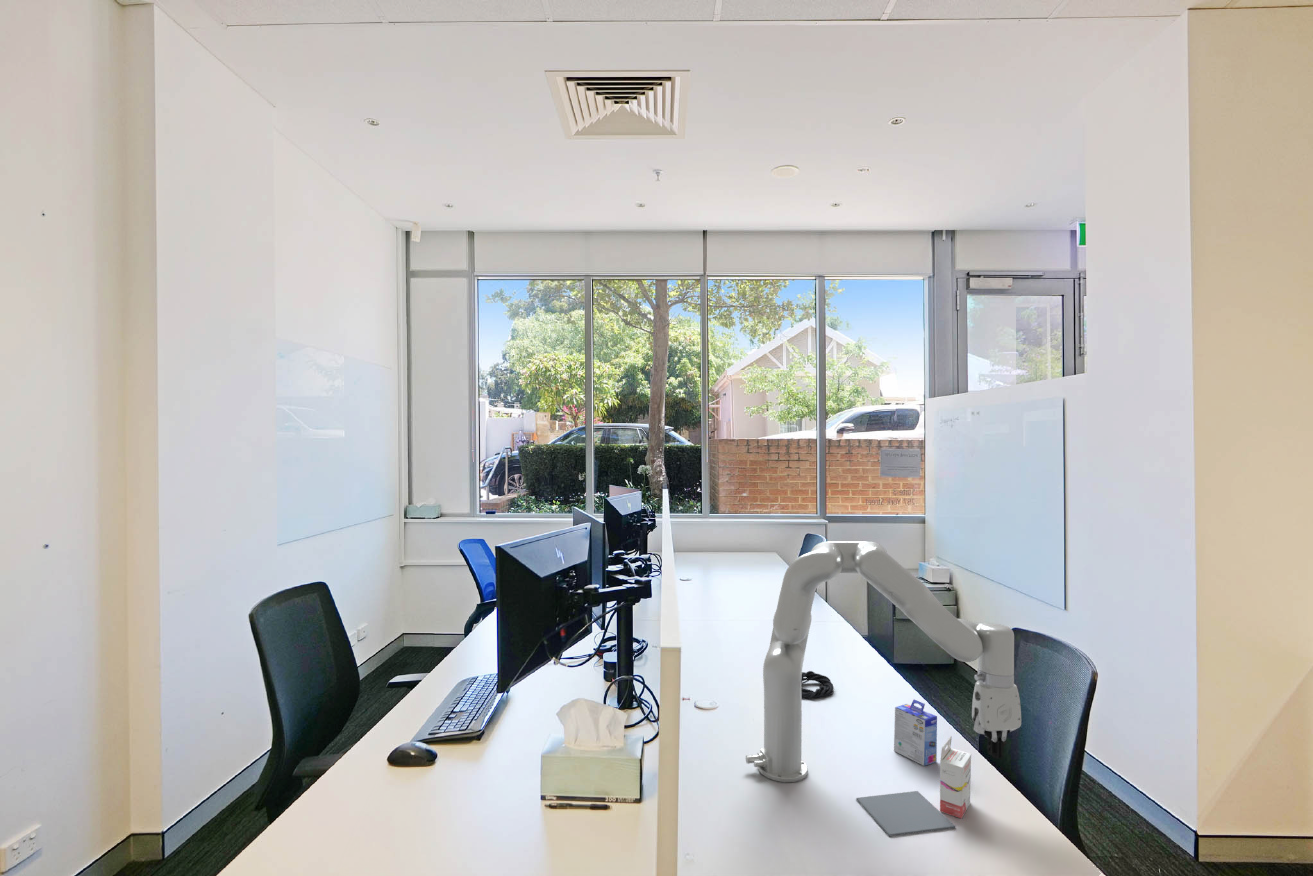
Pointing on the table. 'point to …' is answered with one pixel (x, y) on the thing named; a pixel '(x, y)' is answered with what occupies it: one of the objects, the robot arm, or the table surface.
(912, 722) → the ink cartridge box
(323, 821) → the table surface
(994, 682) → the robot arm
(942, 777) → the ink cartridge box
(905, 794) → the rubber mat
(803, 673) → the cable
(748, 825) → the table surface
